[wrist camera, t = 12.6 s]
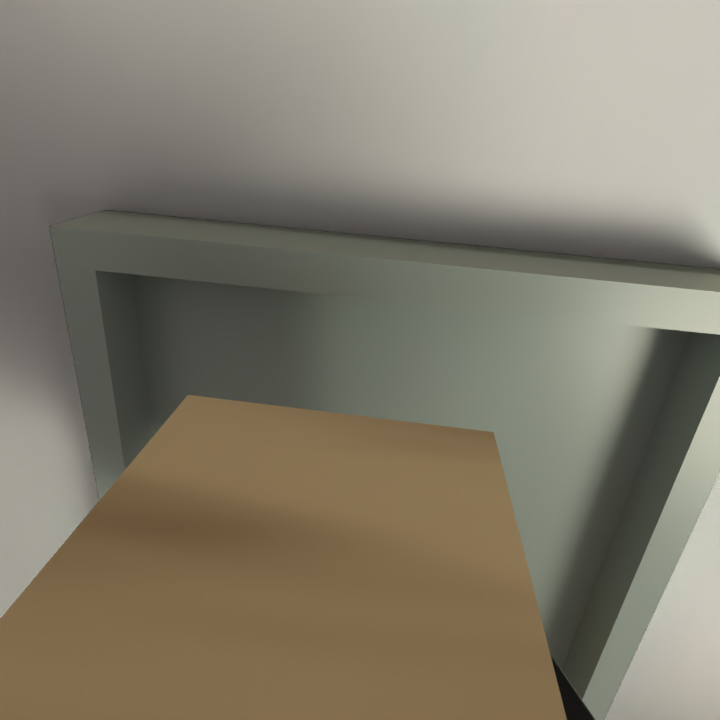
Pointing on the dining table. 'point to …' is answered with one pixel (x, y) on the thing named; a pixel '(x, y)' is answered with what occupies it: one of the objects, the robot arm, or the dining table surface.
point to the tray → (431, 381)
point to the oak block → (287, 581)
